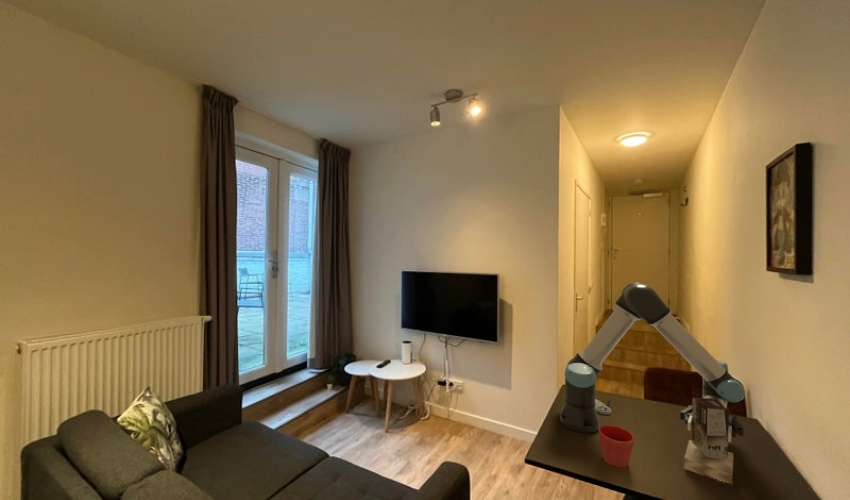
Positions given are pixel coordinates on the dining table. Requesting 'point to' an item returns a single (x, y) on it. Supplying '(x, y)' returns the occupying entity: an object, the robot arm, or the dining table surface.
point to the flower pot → (616, 445)
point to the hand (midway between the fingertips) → (708, 432)
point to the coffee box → (710, 427)
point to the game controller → (602, 407)
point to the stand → (708, 464)
